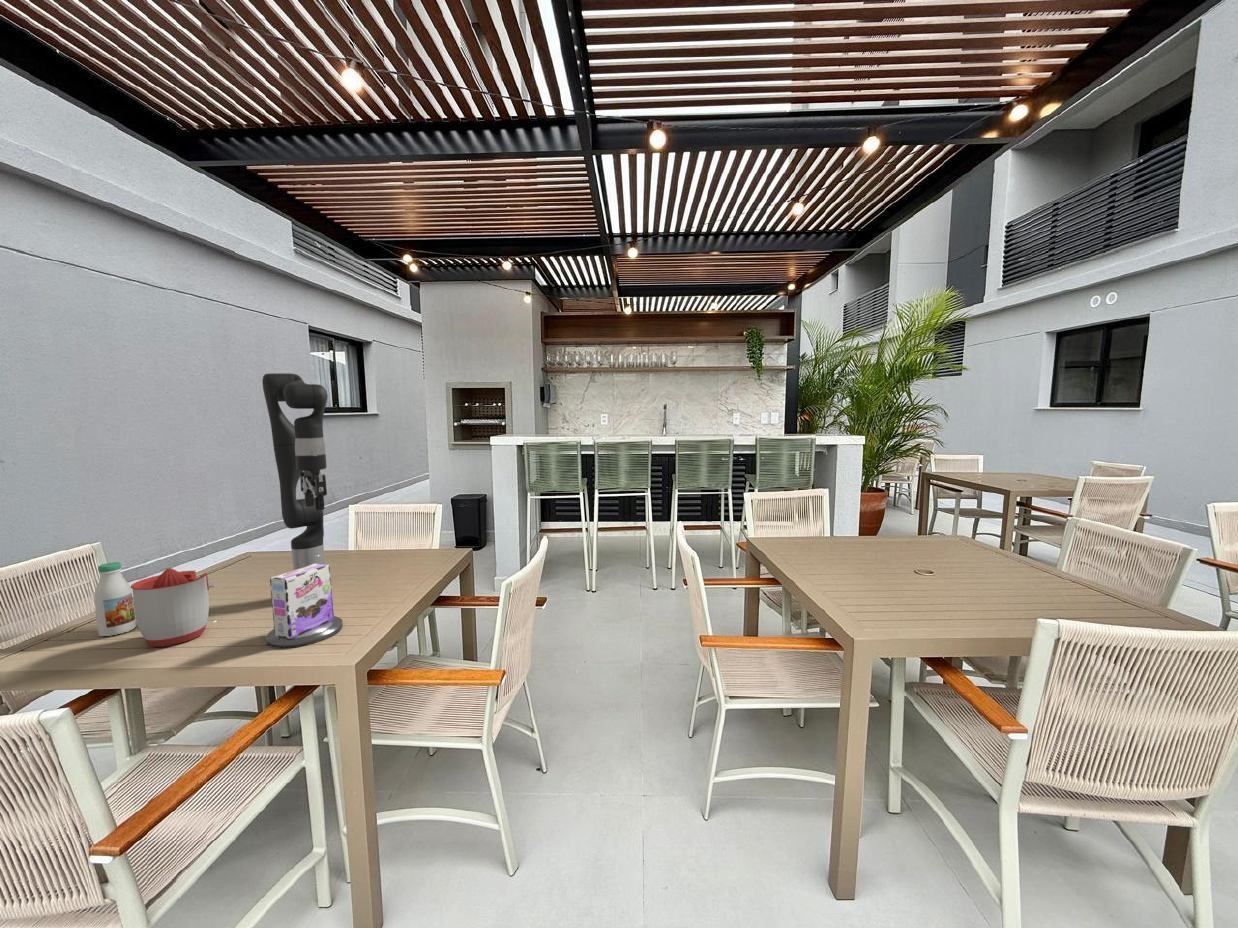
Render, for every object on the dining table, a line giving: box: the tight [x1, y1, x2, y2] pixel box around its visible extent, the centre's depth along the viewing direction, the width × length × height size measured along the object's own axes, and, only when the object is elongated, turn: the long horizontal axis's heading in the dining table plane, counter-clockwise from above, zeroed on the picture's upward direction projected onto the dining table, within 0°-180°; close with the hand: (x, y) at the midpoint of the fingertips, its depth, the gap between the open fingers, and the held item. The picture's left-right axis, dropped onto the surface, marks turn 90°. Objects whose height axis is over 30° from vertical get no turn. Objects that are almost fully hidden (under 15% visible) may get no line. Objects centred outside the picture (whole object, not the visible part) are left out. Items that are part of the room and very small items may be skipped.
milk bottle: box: [93, 562, 137, 637], centre depth 143 cm, size 8×8×20 cm
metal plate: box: [265, 616, 344, 649], centre depth 140 cm, size 18×18×2 cm
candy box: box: [269, 563, 335, 639], centre depth 139 cm, size 14×6×16 cm, turn 161°
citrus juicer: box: [130, 567, 215, 648], centre depth 139 cm, size 16×17×20 cm
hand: (314, 508), depth 148 cm, fingers open, 8 cm apart
